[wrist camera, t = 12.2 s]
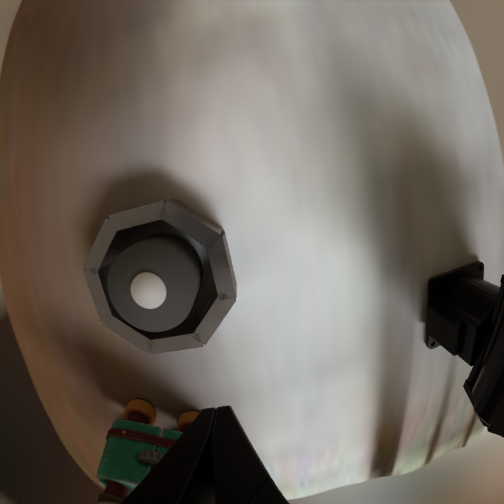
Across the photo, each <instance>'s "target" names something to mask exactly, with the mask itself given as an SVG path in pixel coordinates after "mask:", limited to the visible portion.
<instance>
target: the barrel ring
mask: <svg viewBox="0 0 504 504" xmlns="http://www.w3.org/2000/svg"><path fill="white" fill-rule="evenodd" d="M161 219H163V220H165V221H166V222H168V223H169V224H171V225H172V226H174V227H176V228H177V229H179V230H180V231H182V232H183V233H185V234H187V235H188V236H190V237H191V238H193V239H194V240H196V241H198V242H199V243H201V244H202V245H204V246H205V247H206V248H207V252H208V256H209V260H210V265H211V269H212V273H213V277H214V281H215V285H216V291H215V292H214V294H213V295H212V297H211V299H210V300H209V302H208V303H207V305H206V306H205V308H204V309H203V311H202V312H201V314H200V315H199V317H195V318H190V319H185V320H184V321H183V322H182V323H180V324H179V325H178V326H176V327H174V328H172V329H170V330H167V331H162V332H150V331H145V330H141V329H139V328H136V327H134V326H133V325H131V324H129V323H128V322H127V321H125V320H124V319H123V318H122V317H121V316H120V315H119V313H118V312H117V311H116V309H115V308H114V306H113V304H112V302H111V299H110V296H109V293H108V282H107V281H108V274H109V270H110V267H111V265H112V263H113V261H114V259H115V257H116V255H117V253H118V251H119V249H120V247H121V245H122V243H123V241H124V239H125V237H126V235H127V233H128V231H129V229H130V227H133V226H137V225H141V224H145V223H149V222H153V221H157V220H161ZM222 230H223V229H222V228H220V227H219V226H217V225H216V224H214V223H212V222H211V221H209V220H208V219H206V218H205V217H203V216H201V215H200V214H198V213H197V212H195V211H194V210H192V209H190V208H189V207H187V206H186V205H184V204H183V203H181V202H179V201H178V200H173V199H169V200H162V201H158V202H155V203H151V204H147V205H143V206H140V207H136V208H133V209H129V210H125V211H122V212H119V213H115V214H112V215H109V217H107V218H106V219H105V221H104V223H103V225H102V227H101V229H100V231H99V233H98V235H97V238H96V240H95V242H94V244H93V246H92V248H91V251H90V253H89V255H88V257H87V260H86V262H85V264H84V267H85V268H86V269H84V273H85V277H86V280H87V283H88V286H89V289H90V292H91V295H92V298H93V301H94V304H95V307H96V310H97V313H98V315H99V318H100V321H104V323H103V325H105V326H106V327H108V328H109V329H111V330H112V331H114V332H115V333H117V334H118V335H120V336H121V337H123V338H124V339H126V340H128V341H129V342H131V343H132V344H134V345H135V346H137V347H139V348H140V349H142V350H144V351H145V352H147V353H149V351H150V352H151V354H155V353H163V352H170V351H177V350H184V349H190V348H197V347H203V344H205V345H206V343H207V342H208V341H209V339H210V338H211V336H212V335H213V333H214V332H215V330H216V329H217V328H218V326H219V325H220V323H221V322H222V320H223V319H224V317H225V316H226V315H227V313H228V312H229V310H230V309H231V307H232V306H233V304H234V303H235V301H236V297H237V283H236V279H235V275H234V270H233V266H232V262H231V257H230V253H229V248H228V244H227V239H226V235H225V232H222ZM221 232H222V233H221Z"/></svg>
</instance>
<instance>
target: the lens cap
mask: <svg viewBox="0 0 504 504" xmlns="http://www.w3.org/2000/svg"><path fill="white" fill-rule="evenodd" d="M202 276H203V269H202V263H201V260H200V257H199V255H198V253H197V252H196V250H195V249H194V248H193V246H192V245H191V244H190V243H189V242H187V241H186V240H184V239H183V238H181V237H179V236H176V235H173V234H167V233H160V234H155V235H152V236H150V237H148V238H146V239H144V240H142V241H140V242H138V243H136V244H134V245H133V246H131V247H129V248H127V249H125V250H124V251H123V252H121V253H120V254H119V255H118V256H117V257H116V259H115V260H114V261H113V263H112V265H111V267H110V270H109V274H108V281H107V282H108V293H109V296H110V299H111V302H112V304H113V306H114V308H115V309H116V311H117V312H118V313H119V315H120V316H121V317H122V318H123V319H124V320H125V321H127V322H128V323H129V324H131V325H133V326H134V327H136V328H139V329H141V330H145V331H150V332H162V331H167V330H170V329H172V328H174V327H176V326H178V325H179V324H180V323H182V322H183V321H184V320H185V319H186V317H187V316H188V314H189V312H190V311H191V308H192V306H193V303H194V300H195V298H196V295H197V293H198V290H199V287H200V285H201V282H202Z"/></svg>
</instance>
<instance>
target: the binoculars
mask: <svg viewBox="0 0 504 504" xmlns="http://www.w3.org/2000/svg"><path fill="white" fill-rule="evenodd" d="M198 414H199V412H195V411H188V412H185V413H183V414H181V415H180V417H179V419H178V423H177V431H176V430H170V429H163V431H162V435H161V437H159V435H160V431H161V428H160V427H157V426H154V423H155V420H156V416H157V414H156V411H155V409H154V408H153V406H152V405H151V404H149V403H148V402H146V401H144V400H140V399H134V400H131V401H130V402H129V403H128V404H127V407H126V409H125V412H124V416H125V419H126V420H117V421H115V422H114V423H113V425H112V428H111V429H109V431H108V434H107V436H106V440H107V442H106V445H105V448H104V451H103V455H102V458H101V461H100V465H99V468H98V472H97V479H98V481H99V482H100V483H101V485H102V486H104V487H105V490H104V493H100V495H99V498H98V501H97V504H120V503H121V502H122V501H123V500H124V499H125V498H126V497H127V496H128V495H129V494H130V493H131V492H132V491H133V490H134V488H135V487H136V486H137V485H138V484H140V482H141V481H142V480H143V479H144V478H145V476H146V475H147V474H148V473H149V472H150V471H151V470H152V469H153V467H154V466H155V465H156V464H157V463H158V462H159V460H160V459H161V458H162V457H163V456H164V455H165V454H166V452H167V451H168V450H169V449H170V448H171V447H172V445H173V444H174V443H175V442H176V441H177V439H178V438H179V437H180V436H181V435H182V433H183V432H184V431H185V430H186V429H187V427H188V426H189V425H190V424H191V422H192V421H193V420H194V419H195V418H196V416H197V415H198ZM158 446H159V447H158ZM157 448H158V451H157Z"/></svg>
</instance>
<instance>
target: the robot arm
mask: <svg viewBox="0 0 504 504" xmlns="http://www.w3.org/2000/svg"><path fill="white" fill-rule="evenodd" d="M483 277H484V264H483V263H482V262H480V261H477V262H475V263H472V264H469V265H466V266H464V267H461V268H458V269H455V270H452V271H449V272H447V273H444V274H441V275H438V276H435V277H432V278H431V279H430V280H429V283H428V310H427V339H426V346H427V347H428V348H429V349H433V348H436V347H438V346H440V345H441V346H443V347H444V348H445V349H446V350H447V351H448V352H450V353H451V354H452V355H454V356H455V355H458V356H459V357H460V358H462V359H463V360H464V361H465V362H466V363H468V364H469V365H470V366H473V368H472V370H471V372H470V375H469V377H468V379H466V381H465V383H464V385H463V387H464V389H465V391H466V393H467V395H468V397H469V399H470V401H471V403H472V405H473V407H474V411H475V413H476V414H477V416H478V418H479V419H480V421H481V422H482V424H483V425H484V426H486V427H487V428H488V429H487V430H488V431H489V432H491V433H494V434H497V435H500V436H502V437H504V274H502V277H501V281H500V282H501V286H500V287H498V286H496V285H494V284H492V283H489V282H487V281H485V280H483ZM434 282H435V285H434ZM433 285H434V286H433ZM431 343H432V344H431ZM120 504H289V503H288V501H287V500H286V499H285V497H284V496H283V495H282V493H281V492H280V490H279V489H278V487H277V486H276V484H275V483H274V481H273V479H272V478H271V477H270V475H269V473H268V471H267V470H266V468H265V466H264V465H263V463H262V461H261V460H260V458H259V456H258V455H257V453H256V451H255V449H254V448H253V446H252V444H251V442H250V441H249V439H248V437H247V435H246V433H245V432H244V430H243V428H242V426H241V424H240V422H239V421H238V419H237V417H236V415H235V413H234V411H233V409H232V407H231V406H222V407H218V408H217V409H216V408H206V409H202V410H201V411H200V413H199V414H198V415H197V416H196V418H195V419H194V420H193V421H192V422H191V424H190V425H189V426H188V427H187V429H186V430H185V431H184V432H183V433H182V435H181V436H180V437H179V438H178V439H177V441H176V442H175V443H174V444H173V445H172V447H171V448H170V449H169V450H168V451H167V452H166V454H165V455H164V456H163V457H162V458H161V459H160V460H159V462H158V463H157V464H156V465H155V466H154V467H153V469H152V470H151V471H150V472H149V473H148V474H147V475H146V476H145V478H144V479H143V480H142V481H141V482H140V484H138V485H137V486H136V487H135V488H134V490H133V491H132V492H131V493H130V494H129V495H128V496H127V497H126V498H125V499H124V500H123V501H122V502H121V503H120Z"/></svg>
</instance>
